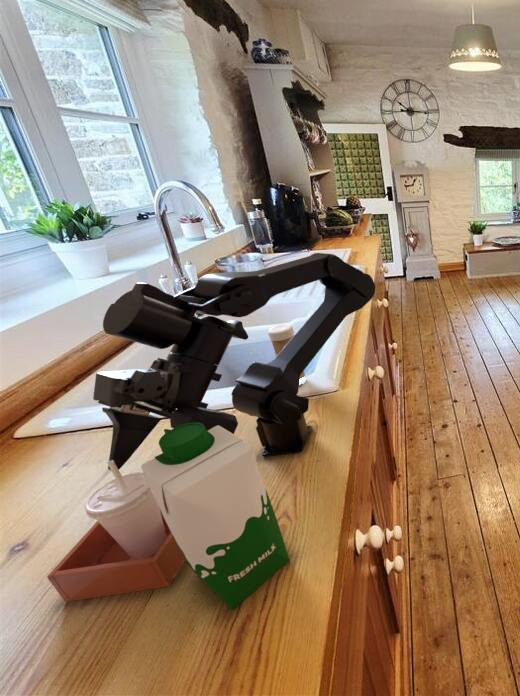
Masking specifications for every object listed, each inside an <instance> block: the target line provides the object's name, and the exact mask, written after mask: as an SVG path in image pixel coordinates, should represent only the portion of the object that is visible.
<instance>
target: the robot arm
mask: <svg viewBox="0 0 520 696" xmlns="http://www.w3.org/2000/svg"><path fill="white" fill-rule="evenodd" d="M316 281H319V283H320V284H321V285H322V286H324V291H323V300H322V302H321V303H320V304H319V305H318V307H317V308H316V309H315V310H314V312H313V313H312V314H311V315H310V316H309V317H308V319H307V320H306V321H305V322H304V323H303V324H302V326H301V327H300V328H299V329H298V331H297V332H296V333H294V336H293V337H292V339H291V340H290V341H289V342H288V343H287V345H286V346H285V347H284V348H283V349H282V350H281V352H280V353H279V354H278V355H277V356H276V355H275V357H274V358H273V359H272V360H271V361H269V362H266V363H264V362H263V363H262V362H259V361H253V362H252V363H251V364H249V366H248V368H247V369H246V371H244V373H243V374H242V375H241V376H240V377H239V378H237V379H235V383H237V384H236V385H235V386H234V387H233V389H232V391H231V396H232V397H231V402H232V407H233V408H234V409H235V410H236V411H238V412H240V413H243V414H246V415H249V416H250V417H256V426H255V430H256V433H257V437H258V438H259V441H260V445H261V446H262V447H263V449H262V451H261V453H260V454H261V456H262V457H270V456H278V455H286V454H288V455H289V454H296V453H300V452H302V451H303V450H304V449H305V445H306V443H307V441H308V439H309V436H310V435H311V432H312V431H313V426H312V425H307V420H306V417H305V413H307V412H308V411H309V402H310V400H309V398H308V397H304V396H301V395H298V393H299V389H300V388H299V379H300V375H301V374H302V372H303V371H304V372H305V370H306V368H307V367H308V366H309V365H310V363H311V362H312V361H313V360H314V358H315V357H316V356H317V354H318V353H319V352H320V350H321V349H322V348H323V347H324V345H325V344H326V343H327V342H328V340H330V338H331V337H332V335H333V334H334V333H335V331H336V330H337V329H338V327H339V326H340V325H341V324H342V322H343V321H344V320H345V318H346V317H347V316H349V315H350V314H353V313H356V312H357V311H359V310H361V309H363V308H364V307H365V306H366V305H367V304H368V303H369V302H370V301H371V300H372V299H373V297H374V296H375V293H376V284H375V282H374V279H373V277H372V276H371V275H370V274H368V273H364V272H363V271H362V270H360V269H358V268H356V267H355V266H353V265H351V264H349V263H347V262H345V261H344V260H343V259H342V258H340V257H339V256H337V255H336V254H335V253H324V252H315V253H312V254H311V255H309V256H305V257H301V258H298V259H293V260H291V261H287V262H284V263H280V264H276V265H273V266H269V267H266V268H265V267H264V268H262V269H258V270H250V271H229V272H214V273H208V274H205V275H203V276H201V277H200V278H198V279H197V283H196V284H195V285H194V286H191V287H190V288H187V289H186V290H183V291H181V292H179V293H176V294H174V295H171V294H169V293H167V292H165V291H163V290H161V288H159V287H158V286H155V285H152V284H150V283H145V282H139V281H137V282H136V283H135V284H134V286H133V288H132V289H131V290H129V291H127V292H125V293H124V294H122V295H121V296H120V297H118V298H117V299H116V300H115V302H114V303H111V304H110V305H109V307H108V308H107V310H106V312H105V314H104V317H103V320H102V328H103V331H104V333H106V334H107V335H109V336H113V337H117V338H120V339H124V340H127V341H130V342H135V343H138V344H141V345H144V346H147V347H150V348H155V349H158V350H166V349H168V348H170V347H171V348H170V350H169V353H168V354H167V357H166V358H165V359H164V358H160V357H157V359H155V360H153V362H152V363H151V365H150V367H149V368H131V369H120V370H119V369H117V370H116V369H115V370H102V371H97V372H96V373H95V379H94V380H95V381H94V389H93V398H92V399H93V400H94V401H97V403H98V404H100V405H103V406H107V407H101V411H102V413H105V415H106V416H107V417H108V419H109V420H110V421H111V423H112V436H111V442H110V443H111V444H110V451H109V457H108V458H109V459H108V462H109V461H111V460H114V462H115V464H116V466H117V468H118V470H119V471H120V470H121V468H123V466H124V465H125V464H126V463H127V462H128V461H129V459H130V458H131V457H132V456H133V455H134V454H135V452H136V451H137V450H138V449H139V447H140V446H141V445H142V444H143V442H144V441H145V440H146V439H147V438H148V436H149V435H150V434H151V433H152V431H153V430H154V429H155V428H156V426H158V424H159V423H160V421H161V420H162V418H161V417H164V418H166V419H169V423H170V428H172V429H174V428H176V427H178V426H181V425H184V424H188V423H195V422H197V423H202V424H203V425H204V426H205V428H206V430H207V431H208V430H210V429H212V428H213V427H215V426H217V425H219V426H221V427H222V428H224V429H226V430H227V431H229V432H231V433H232V434H234V435H235V432H236V430H237V428H238V426H239V422H238V419H237V416H236V415H234V414H231V413H228V412H225V411H222V410H221V411H220V410H218V409H211V408H208V406H209V403H207V402H203V400H204V397H205V396H206V393H207V391H208V389H209V387H210V385H211V382H212V381H214V382H217V383H219V382H220V380H221V379H222V376H223V374H221V373H217V371H218V368H219V366H220V364H221V362H222V360H223V357H224V355H225V354H226V351H227V349H228V347H229V345H230V343H231V341H232V339H233V338H235V339H239V340H245V341H246V340H248V339H249V335H248V332H247V331H246V330H245V328H244V325H243V321H242V320H235V319H230V320H228V321H227V320H224V319H221V318H219V316H227V317H232V318H243V317H247V316H249V315H251V314H253V313H254V312H256V311H258V310H260V309H261V308H263V307H265V306H266V305H267V304H268V302H269V301H270V300H271V299H272V298H274V297H276V296H277V295H280V294H282V293H285V292H288V291H292V290H293V289H297V288H299V287H302V286H305V285H308V284H311V283H313V282H314V283H315V282H316ZM195 314H203V315H206V316H203V317H201V318H199V317H197V316H195ZM150 413H151V414H150ZM153 414H155V415H157V416H155V415H153ZM158 416H160V417H158ZM170 430H171V429H168V428H164V429H163V432H164V434H165V433H167V432H168V431H170ZM107 465H108V464H107ZM107 470H109V471H111V469H110V467H109V465H108V466H107Z"/></svg>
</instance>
